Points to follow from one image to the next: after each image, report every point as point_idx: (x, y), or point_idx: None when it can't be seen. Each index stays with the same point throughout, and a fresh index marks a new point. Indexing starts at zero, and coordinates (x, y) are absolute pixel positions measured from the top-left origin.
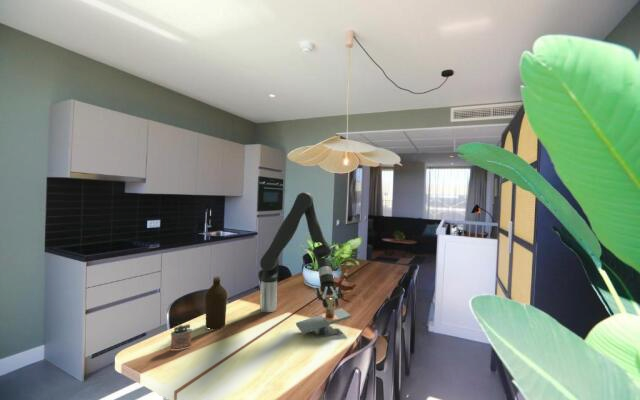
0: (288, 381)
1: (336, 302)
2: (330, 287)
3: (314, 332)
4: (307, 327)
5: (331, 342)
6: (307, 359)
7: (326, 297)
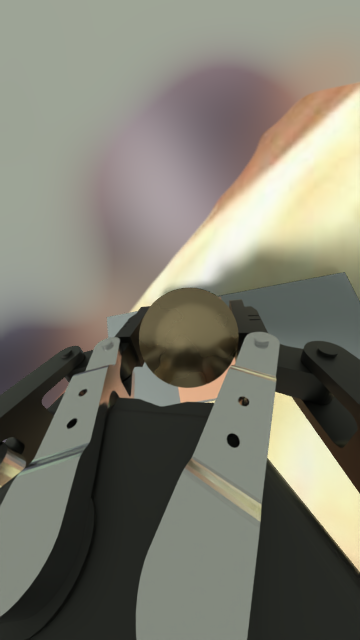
0: (355, 113)
1: (138, 317)
2: (51, 532)
3: None
4: (321, 296)
5: (216, 270)
6: (302, 190)
7: (218, 372)
